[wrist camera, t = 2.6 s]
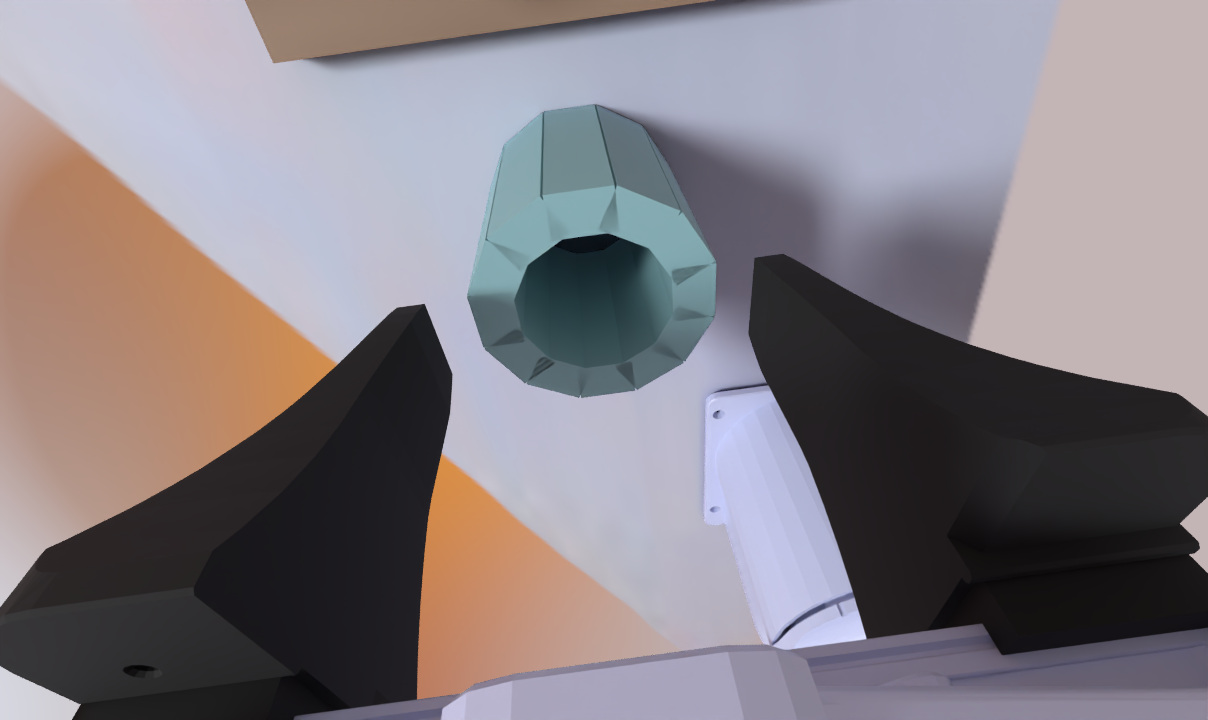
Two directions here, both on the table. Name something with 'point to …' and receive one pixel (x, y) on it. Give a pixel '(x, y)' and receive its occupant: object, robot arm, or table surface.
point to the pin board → (412, 21)
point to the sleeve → (589, 258)
